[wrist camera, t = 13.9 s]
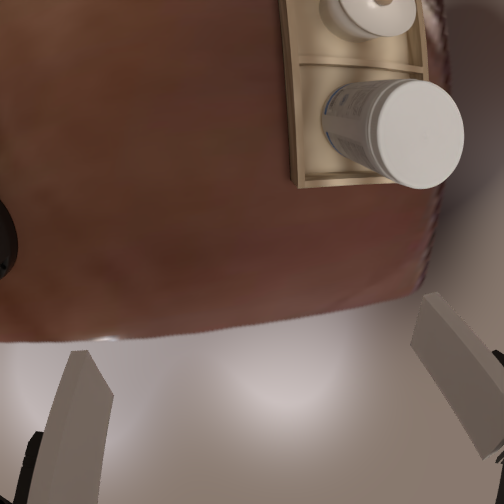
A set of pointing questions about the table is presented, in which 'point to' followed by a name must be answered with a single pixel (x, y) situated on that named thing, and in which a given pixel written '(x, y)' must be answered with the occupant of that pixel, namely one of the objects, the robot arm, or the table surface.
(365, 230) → the table surface
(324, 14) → the sugar pot
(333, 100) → the supplement tub
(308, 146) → the caddy
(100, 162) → the table surface
